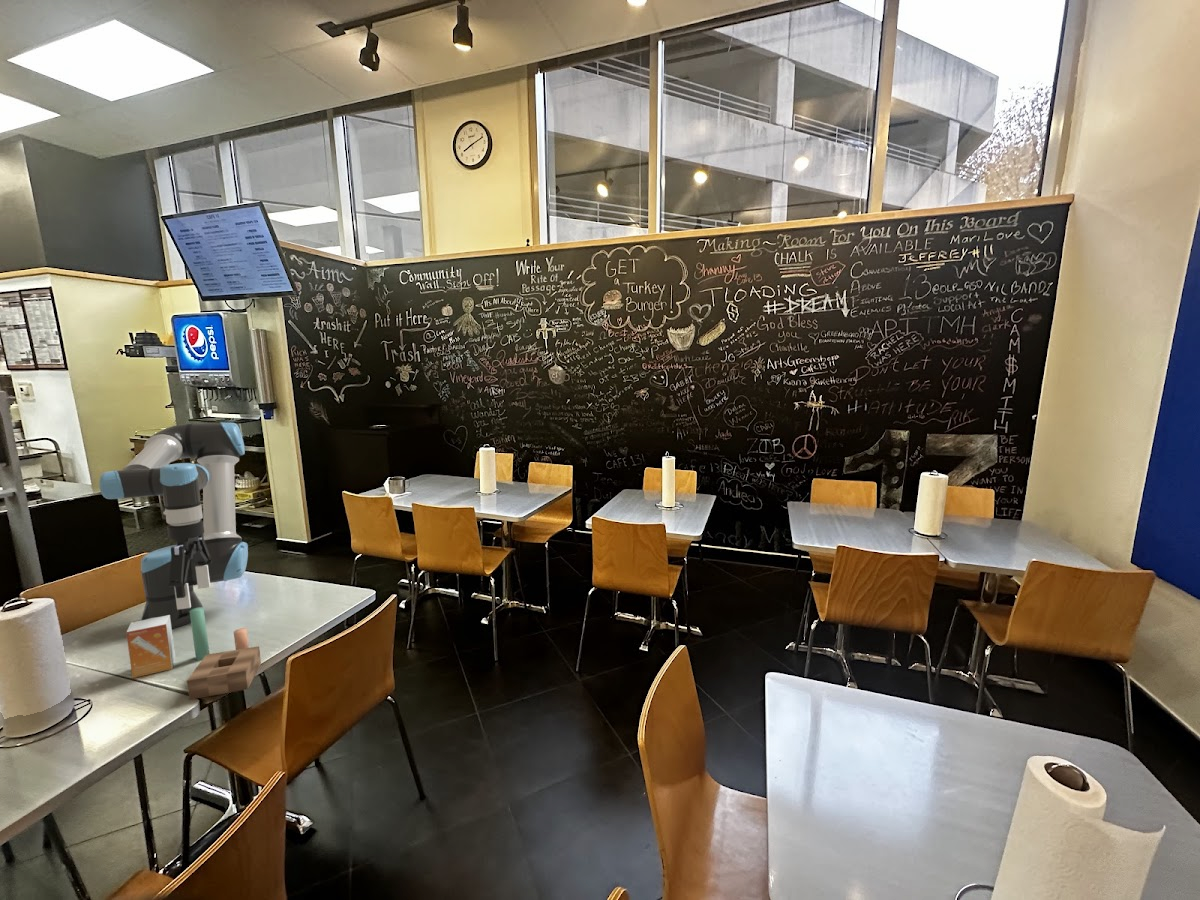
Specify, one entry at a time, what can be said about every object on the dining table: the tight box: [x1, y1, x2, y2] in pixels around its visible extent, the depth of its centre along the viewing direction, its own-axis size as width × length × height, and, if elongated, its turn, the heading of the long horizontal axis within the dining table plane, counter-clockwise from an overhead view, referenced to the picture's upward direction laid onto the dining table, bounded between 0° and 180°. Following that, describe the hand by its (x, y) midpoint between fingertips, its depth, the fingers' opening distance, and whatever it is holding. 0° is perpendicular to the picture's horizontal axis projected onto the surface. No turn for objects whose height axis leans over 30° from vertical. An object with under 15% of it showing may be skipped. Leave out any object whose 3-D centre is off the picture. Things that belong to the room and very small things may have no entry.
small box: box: [125, 615, 176, 679], centre depth 135 cm, size 8×6×13 cm
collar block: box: [186, 646, 262, 700], centre depth 130 cm, size 12×12×5 cm
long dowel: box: [190, 607, 210, 661], centre depth 140 cm, size 3×3×14 cm
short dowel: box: [233, 627, 250, 650], centre depth 142 cm, size 3×3×7 cm
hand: (194, 597), depth 138 cm, fingers open, 13 cm apart
